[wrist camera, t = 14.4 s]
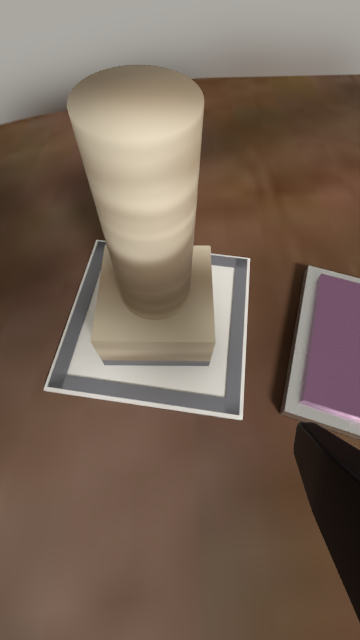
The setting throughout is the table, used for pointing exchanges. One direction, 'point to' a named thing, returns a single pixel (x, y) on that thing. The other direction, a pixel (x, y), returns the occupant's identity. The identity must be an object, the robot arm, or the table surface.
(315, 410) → the ink pad
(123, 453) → the table surface
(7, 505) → the table surface
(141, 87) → the stamp
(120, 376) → the marked card
